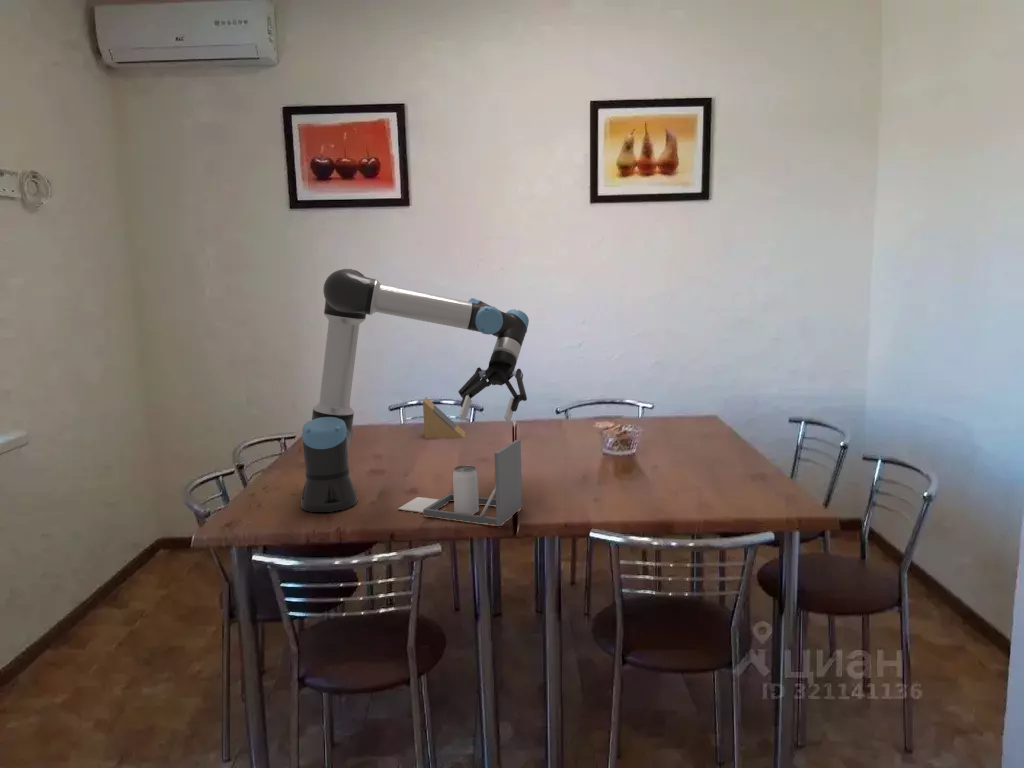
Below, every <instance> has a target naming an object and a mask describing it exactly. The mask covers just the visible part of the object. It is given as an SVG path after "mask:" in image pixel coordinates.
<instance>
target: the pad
mask: <svg viewBox="0 0 1024 768" xmlns="http://www.w3.org/2000/svg"><path fill="white" fill-rule="evenodd" d="M438 500H439V499H438V498H428V497H420V496H417V497H415V498H413V499H412V500H410V501H409V502H406V503H405V504H403V505H402V506H400V507H399V508H398V509H402V510H409V511H418V512H423V510H424V509H425V508H427V507H428V506H430V505H431V504H433V503H435V502H436V501H438ZM398 509H397V510H398Z"/></svg>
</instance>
